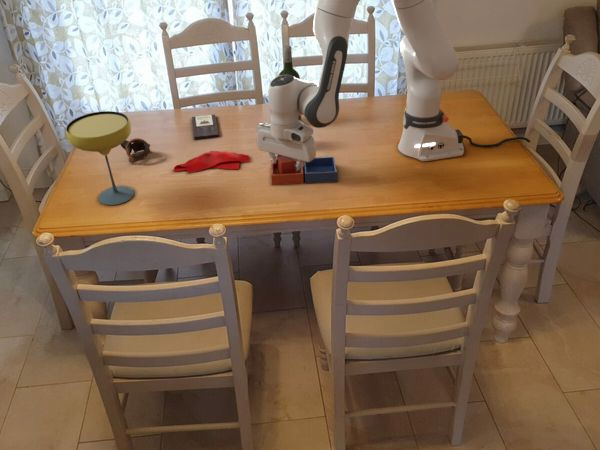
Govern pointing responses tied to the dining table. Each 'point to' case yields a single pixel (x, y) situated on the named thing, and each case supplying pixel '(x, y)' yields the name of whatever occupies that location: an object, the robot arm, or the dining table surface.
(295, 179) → the terracotta bin
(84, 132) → the cocktail glass
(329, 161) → the blue bin
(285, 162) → the red block
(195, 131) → the chocolate bar
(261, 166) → the dining table surface
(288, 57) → the wine bottle
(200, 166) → the cloth
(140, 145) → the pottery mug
